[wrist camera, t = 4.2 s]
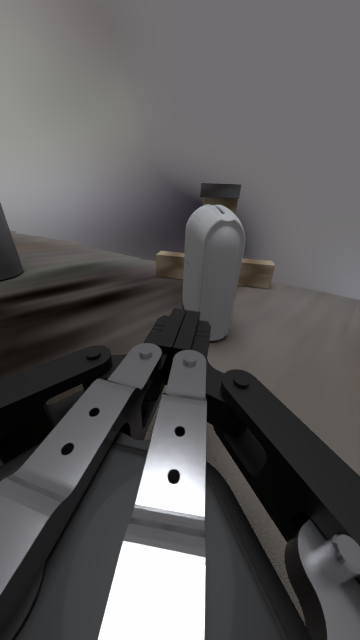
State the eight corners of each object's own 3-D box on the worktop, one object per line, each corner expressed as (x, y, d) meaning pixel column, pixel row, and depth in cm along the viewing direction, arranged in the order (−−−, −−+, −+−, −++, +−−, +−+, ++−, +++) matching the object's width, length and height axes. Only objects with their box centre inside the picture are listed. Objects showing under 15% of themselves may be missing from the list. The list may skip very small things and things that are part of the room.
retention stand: (149, 283, 35) (145, 181, 28) (161, 271, 41) (160, 184, 34) (272, 298, 32) (305, 186, 25) (266, 282, 38) (290, 189, 31)
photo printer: (179, 301, 30) (183, 202, 24) (208, 300, 30) (220, 204, 24) (192, 344, 21) (203, 205, 15) (232, 342, 22) (260, 207, 15)
